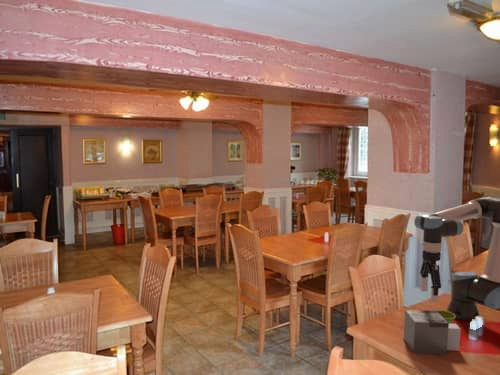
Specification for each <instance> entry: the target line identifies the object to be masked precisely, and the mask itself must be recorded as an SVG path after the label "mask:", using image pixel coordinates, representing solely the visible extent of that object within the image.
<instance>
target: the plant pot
mask: <svg viewBox="0 0 500 375" xmlns="http://www.w3.org/2000/svg"><path fill="white" fill-rule="evenodd" d="M436 311H437V312H438V313H439V314H440V315H441V316H442V317H443V318H444V319H445V320H446V321H447V322H448V323H449V324H454V323H453V322H454V321H455V319H456V318H455V317H456V316H455V314H453V313H451V312H448V311H447V310H442V309H441V310H440V309H438V310H437V309H436Z"/></svg>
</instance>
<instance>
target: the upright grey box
mask: <svg viewBox="0 0 500 375" xmlns="http://www.w3.org/2000/svg"><path fill="white" fill-rule="evenodd" d="M460 341H461V327H459V325H457V324H456V323H453V324H449V327H448V343H447V351H457V352H458V351H460V343H461V342H460Z"/></svg>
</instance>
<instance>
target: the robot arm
mask: <svg viewBox="0 0 500 375" xmlns="http://www.w3.org/2000/svg"><path fill="white" fill-rule="evenodd" d="M479 218H481V219H490V220H491V224H492V225H493V230H492V234H491V240H490V244H489V248H488V252H487V257H486V260H485V264H484V269H483V273H481V274H480V275H479V274H478V273H476V272H472V271H456V272H454V273H453V274H452V279H451V297H450V301H449V303H448V306H447V307H446V311H448V312H451V313H453V314H455V316H456V317H455V318H454V319H455V320H460V321H465V322H471V321H470V320H472V319H475V317H476V316H479V317H480V312H479V309H478V306H477V303H479V304H480V305H484V306H485V307H487V308H492V309H495V310H498V309H500V196H499V197H498V196H493V195H492V196H491V195H490V196H483V197H480V198H479V197H478V198H476V199H472V200H468V201H467V202H466V203H464V204H462V205H458V206H455V207H452V208H451V207H450V208H447V209H445V210H441V211H438V212H434V213H430V214H423V213H420V214H417V215H416V216H415V218H414V226H415V228H416V229H418V230H421V231H423V239H422V240H423V241H422V242H423V243H421V245H422V249H423V250H422V253H421V254H422V263H421V268H420V270H419V274H420V276H421V280H420V281H421V284H420V292H428V286H429V276H430V279H431V286H430V288H431V289H430V290H431V292H430V302H431V303H438V302H439V289H441V288H442V284H441V275H440V274H441V273H440V264H438V263H437V262H439V261H441V258H442V257H441V256H442V254H441V251H442V245H443V244H442V241H443V240H442V238H447V237H448V238H449V237H457V236H460V235H462V234H463V232H464V224H463V223H462V222H463V221H466V220H469V219H475V220H476V219H479Z"/></svg>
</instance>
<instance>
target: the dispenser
mask: <svg viewBox="0 0 500 375" xmlns="http://www.w3.org/2000/svg"><path fill="white" fill-rule="evenodd" d="M448 327H449V323H448V322H447V321H446V320H445V319H444V318H443V317H442V316H441V315H440V314H439V313H438V312H437V310H428V309H427V310H425V309H423V310H422V309H405V310H404V327H403V341H404V342H405V343H406V345H407V346H408V348H409V349H410V350H411V352H412V353H413V354H420V355H421V354H422V355H427V354H428V355H448V354H447V353H448V350H447V343H448Z"/></svg>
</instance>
